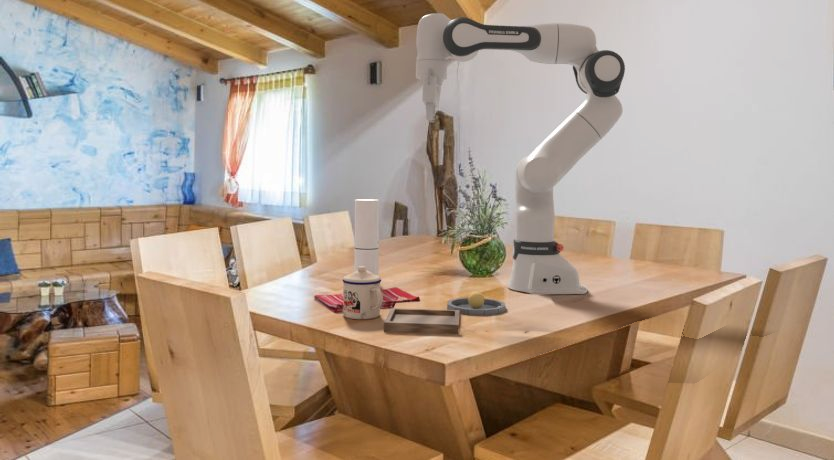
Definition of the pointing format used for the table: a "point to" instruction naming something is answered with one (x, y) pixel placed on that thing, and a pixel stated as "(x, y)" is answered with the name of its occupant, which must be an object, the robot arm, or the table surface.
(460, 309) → the dish
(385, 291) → the dish towel
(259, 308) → the table surface
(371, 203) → the cylindrical container
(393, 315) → the tray
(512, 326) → the table surface
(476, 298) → the ball
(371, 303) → the teacup with lid
